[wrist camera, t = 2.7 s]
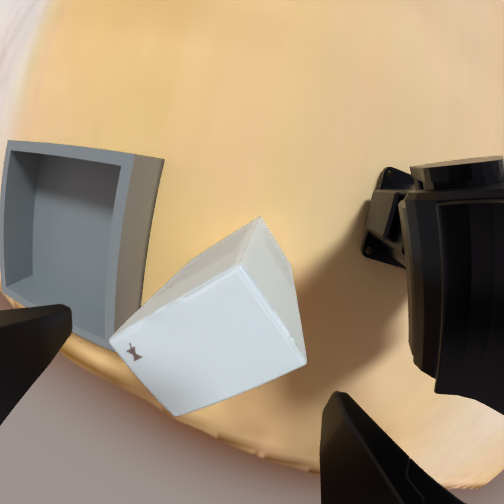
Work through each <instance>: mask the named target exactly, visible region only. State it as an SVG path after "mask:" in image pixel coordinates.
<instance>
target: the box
mask: <svg viewBox="0 0 504 504" xmlns="http://www.w3.org/2000/svg"><path fill="white" fill-rule="evenodd" d="M163 164H164V159H160V158H154V157H148V156H142V155H136V154H130V153H124V152H117V151H110V150H103V149H96V148H88V147H80V146H72V145H62V144H52V143H41V142H28V141H13V140H8V143H7V148H6V154H5V161H4V168H3V176H2V185H1V197H0V271H1V283H2V292H3V293H5V294H6V295H8V296H9V297H11V298H12V299H14V300H15V301H17V302H19V303H20V304H22V305H24V306H25V307H27V308H28V307H37V306H45V305H53V304H64V305H66V306H68V307H70V308H71V310H72V326H73V328H72V333H74V334H76V335H78V336H80V337H82V338H84V339H86V340H89V341H91V342H93V343H95V344H97V345H99V346H102V347H104V348H106V349H108V350H111V351H113V352H115V350H114V349H113V347H112V346H111V345H110V343H109V339H110V337H111V336H112V335H113V334H114V333H115V332H116V331H117V330H118V329H119V328H120V327H121V326H122V325H123V324H124V323H125V322H126V321H127V320H128V319H129V318H130V317H131V316H132V315H133V314H134V313H135V312H137V311H138V310H139V309H140V308H141V299H142V289H143V280H144V272H145V264H146V257H147V250H148V243H149V237H150V230H151V224H152V218H153V213H154V207H155V202H156V197H157V192H158V187H159V182H160V177H161V173H162V168H163Z"/></svg>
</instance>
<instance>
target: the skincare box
mask: <svg viewBox="0 0 504 504" xmlns="http://www.w3.org/2000/svg"><path fill="white" fill-rule="evenodd" d="M109 343H110V345H111V346H112V347H113V349H114V350H115V351H116V352H117V354H118V355H119V356H120V357H121V359H122V360H123V361H124V362H125V363H126V365H127V366H128V367H129V368H130V369H131V371H132V372H133V373H134V374H135V375H136V376H137V378H138V379H139V380H140V381H141V382H142V383H143V385H144V386H145V387H146V388H147V389H148V390H149V391H150V392H151V393H152V395H153V396H154V397H155V398H156V399H157V400H158V401H159V402H160V403H161V404H162V405H163V406H164V407H165V408H166V409H167V410H168V411H169V412H170V413H171V414H172V415H174V416H175V417H178V416H181V415H184V414H187V413H190V412H193V411H196V410H199V409H202V408H205V407H208V406H210V405H213V404H216V403H218V402H221V401H224V400H226V399H229V398H231V397H234V396H236V395H238V394H241V393H243V392H246V391H248V390H250V389H253V388H255V387H258V386H260V385H262V384H265V383H267V382H269V381H272V380H274V379H276V378H278V377H280V376H282V375H285V374H287V373H289V372H291V371H293V370H296V369H298V368H300V367H302V366H304V365H306V363H307V357H306V350H305V344H304V338H303V332H302V325H301V319H300V313H299V308H298V302H297V296H296V290H295V284H294V279H293V273H292V267H291V264H290V262H289V261H288V259H287V258H286V256H285V254H284V253H283V251H282V249H281V248H280V246H279V244H278V243H277V241H276V239H275V238H274V236H273V234H272V233H271V231H270V229H269V228H268V226H267V225H266V223H265V221H264V220H263V218H262V217H258V218H256V219H254V220H253V221H251V222H250V223H248V224H246V225H245V226H243V227H241V228H240V229H238V230H237V231H235V232H233V233H232V234H230V235H229V236H227V237H226V238H224V239H222V240H221V241H219V242H218V243H216V244H215V245H213V246H212V247H210V248H209V249H207V250H206V251H204V252H202V253H201V254H199V255H198V256H196V257H195V258H193V259H192V260H191V261H190V262H189V263H187V264H186V265H185V266H184V267H183V268H182V269H181V270H180V271H179V272H178V273H177V274H175V275H174V276H173V277H172V278H171V279H170V280H169V281H168V282H167V283H166V284H165V285H164V286H163V287H162V288H161V289H160V290H159V291H158V292H156V293H155V294H154V295H153V296H152V297H151V298H150V299H149V300H148V301H147V302H146V303H145V304H144V305H143V306H142V307H141V308H140V309H139V310H138V311H137V312H135V313H134V314H133V315H132V316H131V317H130V318H129V319H128V320H127V321H126V322H125V323H124V324H123V325H122V326H121V327H120V328H119V329H118V330H117V331H116V332H115V333H114V334H113V335H112V336H111V337H110V339H109Z"/></svg>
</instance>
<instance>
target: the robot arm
mask: <svg viewBox="0 0 504 504" xmlns="http://www.w3.org/2000/svg"><path fill="white" fill-rule="evenodd" d="M388 171H390V172H391V173H392V176H391V177H390V178H389V177H388V175H387V172H388ZM410 171H411V175H410V174H408V173H405V172H403V171H400V170H398V169H395V168H393V167H386V168H384V169H383V171H382V175H381V179H380V183H379V187H378V189H377V190H375V191H374V192H373V195H372V199H371V203H370V206H369V210H368V213H367V217H366V220H365V224H364V226H365V228H366V233H365V237H364V240H363V243H362V246H361V253H362V254H363V255H364V256H365V257H367V258H370V259H374V260H377V261H380V262H384V263H387V264H390V265H394V266H397V267H401V268H404V269H406V275H407V290H408V317H409V345H410V349H411V352H412V355H413V362H414V364H415V365H416V366H417V367H418V368H419V369H420V370H421V371H423V372H424V373H426V374H428V375H429V376H431V377H433V378H435V379H436V381H435V388H434V392H435V393H437V394H448V395H459V396H463V397H467V398H471V399H474V400H477V401H479V402H481V403H483V404H485V405H487V406H489V407H490V408H492V409H494V410H496V411H497V412H499V413H501V414H503V415H504V158H503V156H490V157H478V158H468V159H461V160H453V161H446V162H439V163H432V164H425V165H419V166H412V167H410ZM368 247H370V248H371V250H370V252H369V253H366V248H368ZM72 328H73V326H72V310H71V308H70V307H68V306H66V305H64V304H53V305H45V306H37V307H28V308H19V309H10V310H1V311H0V425H1V424H2V423H3V421H4V420H5V419H6V417H7V416H8V415H9V413H10V412H11V411H12V409H13V408H14V407H15V405H16V404H17V403H18V402H19V401H20V399H21V398H22V397H23V396H24V394H25V393H26V392H27V391H28V389H29V388H30V387H31V386H32V384H33V383H34V382H35V381H36V380H37V378H38V377H39V376H40V375H41V373H42V372H43V371H44V370H45V369H46V368H47V366H48V365H49V364H50V363H51V362H52V360H53V359H54V357H55V356H56V354H57V353H58V352H59V350H60V349H61V347H62V346H63V344H64V343H65V342H66V340H67V339H68V337H69V336H70V335H71V333H72ZM409 458H410V457H409V456H408V455H407V454H406V453H405V452H404V451H403V450H402V449H401V448H400V447H399V446H398V445H397V444H396V443H395V442H394V441H393V440H392V439H391V438H390V437H389V436H388V435H387V434H386V433H385V432H384V431H383V430H382V429H381V428H380V427H379V426H378V425H377V424H376V423H375V422H374V421H373V420H372V418H371V417H370V416H369V415H368V414H367V413H366V412H365V411H364V410H363V409H362V408H361V407H360V406H359V405H358V404H357V403H356V402H355V401H354V400H353V399H352V398H351V397H350V396H349V395H348V394H347V393H345V392H339V391H335V392H334V393H333V394H332V395H331V397H330V399H329V401H328V403H327V404H326V406H325V408H324V410H323V413H322V427H321V441H320V478H321V504H466V503H464V502H463V501H461V500H460V499H458V498H457V497H456V496H454V495H453V494H452V493H451V492H449V491H448V490H447V489H445V488H444V487H443V486H441V485H440V484H439V483H438V482H436V481H435V480H434V479H433V478H432V477H430V476H429V475H428V474H427V473H426V472H425V471H424V470H423V469H422V468H420V467H419V466H418V465H417V464H416V463H415V462H414V461H413V460H412V459H411V458H410V459H409Z"/></svg>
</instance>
